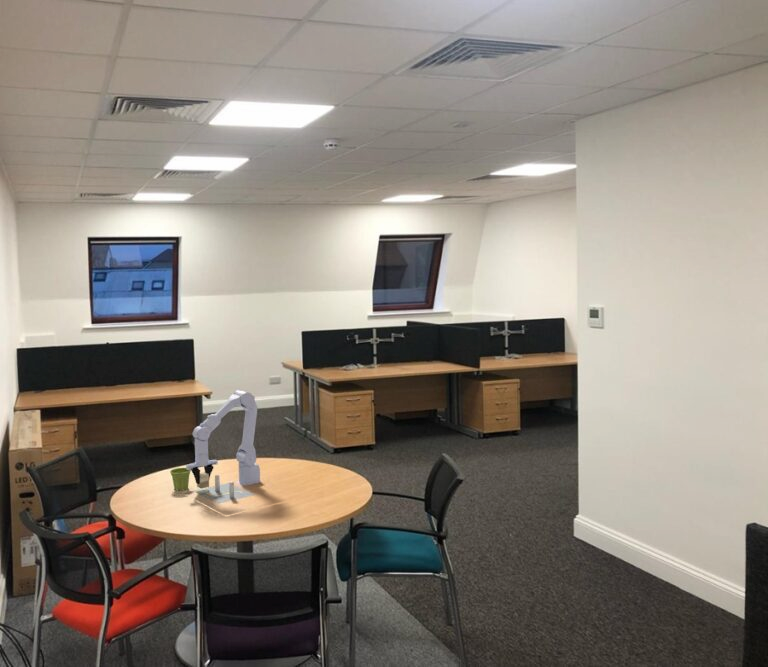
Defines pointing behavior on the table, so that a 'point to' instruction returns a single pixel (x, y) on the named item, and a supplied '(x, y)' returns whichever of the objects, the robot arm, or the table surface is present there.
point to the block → (203, 480)
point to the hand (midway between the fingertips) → (202, 482)
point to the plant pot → (180, 478)
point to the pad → (202, 490)
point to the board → (225, 492)
